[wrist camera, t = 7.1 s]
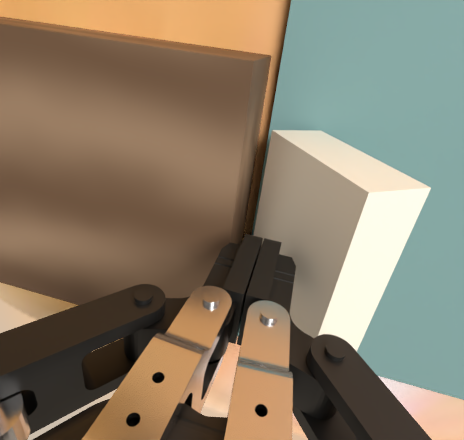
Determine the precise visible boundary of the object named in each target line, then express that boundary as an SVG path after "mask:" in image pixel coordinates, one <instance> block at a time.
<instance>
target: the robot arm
mask: <svg viewBox="0 0 464 440" xmlns="http://www.w3.org/2000/svg"><path fill="white" fill-rule="evenodd" d="M262 242H263V244H262ZM281 243H282V242H279V241H274V240H270V239H266V238H264V241H263V238H262V237H257V236H253V235H249V234H245V236H244V239H243V241H242V243H241V245H239V244H235V243H231V242H230V243H229V244H227V245H226V246H224V247H223V248H222V249H221V251H220V253H219V255H218V257H217V259H216V261H215V264H214V265H213V267H212V269H211V271H210V273H209V275H208V277H207V279H206V281H205V283H204V285H203V287H200V288H198V289H196V290H195V291H193V293H192V294H191V295H190V297H186V298H165V294H164V292H163V291H162V290H161V289H160V288H159V287H157V286H155V285H151V284H139V285H135V286H132V287H129V288H126V289H124V290H121V291H118V292H115V293H112V294H110V295H107V296H104V297H101V298H98V299H96V300H93V301H90V302H87V303H84V304H82V305H79V306H76V307H73V308H70V309H68V310H65V311H62V312H59V313H56V314H53V315H51V316H48V317H45V318H42V319H39V320H37V321H34V322H31V323H28V324H25V325H23V326H20V327H17V328H14V329H11V330H9V331H6V332H3V333H0V440H27V439H28V437H29V435H30V434H32V433H34V432H35V431H37V430H39V429H41V428H43V427H45V426H47V425H49V424H50V423H53V422H54V421H56V420H58V419H60V418H62V417H64V416H66V415H67V414H70V413H72V412H73V411H75V410H77V409H79V408H81V407H83V406H85V405H87V404H89V403H91V402H92V401H94V400H96V399H98V398H100V397H102V396H104V395H106V394H108V393H109V392H112V391H113V390H115V389H117V390H116V391H115V393H114V394H113V396H112V397H111V399H108V400H105V401H102V402H100V403H97V404H95V405H93V406H91V407H89V408H88V409H86V410H84V411H82V412H81V413H79V414H77V415H75V416H73V417H72V418H70V419H68V420H67V421H65V422H63V423H61V424H59V425H58V426H56V427H54V428H52V429H51V430H49V431H47V432H46V433H44V434H42V435H40V436H38V437H37V438H35V439H33V440H292V411H293V413H294V415H295V417H296V419H297V421H298V422H299V424H300V426H301V428H302V429H303V431H304V433H305V435H306V436H307V438H308V440H432V439H431V438H430V437H429V436H428V435H427V434H426V432H425V431H424V430H423V429H422V428H421V427H420V425H419V424H418V423H417V422H416V421H415V420H414V418H413V417H412V416H411V415H410V414H409V412H408V411H407V410H406V409H405V408H404V407H403V405H402V404H401V403H400V402H399V401H398V400H397V398H396V397H395V396H394V395H393V394H392V393H391V391H390V390H389V389H388V388H387V387H386V386H385V384H384V383H383V382H382V381H381V380H380V379H379V377H378V376H377V375H376V374H375V373H374V371H373V370H372V369H371V368H370V367H369V366H368V364H367V363H366V362H365V361H364V360H363V359H362V357H361V356H360V355H359V354H358V353H357V352H356V350H355V349H354V348H353V347H352V346H351V345H350V344H349V343H348V342H347V341H345V340H344V339H342V338H340V337H338V336H335V335H331V334H322V335H319V336H317V337H315V338H313V337H311V336H309V335H308V334H306V333H304V332H303V331H301V330H300V329H299V328H298V327H297V326H296V325H295V324H294V323H293V321H292V319H291V316H290V306H291V299H292V292H293V285H294V278H295V271H296V265H295V263H294V261H293V259H292V257H288V256H284V255H280V254H279V252H280V248H281ZM239 329H240V331H239ZM238 333H239V336H238ZM237 336H238V341H237V344H238V345H241V347H240V352H239V357H238V362H237V367H236V373H235V378H234V383H233V389H232V394H231V399H230V405H229V410H228V415H227V418H223V417H221V418H220V417H207V416H204V415H202V414H200V413H201V410H202V407H203V405H204V403H205V400H206V398H207V396H208V393H209V391H210V388H211V386H212V384H213V381H214V379H215V377H216V374H217V372H218V370H219V367H220V365H221V363H222V360H223V355H224V354H225V352H226V349H227V346H228V343H229V342H231V343H234V344H235V342H236V339H237ZM121 338H122V339H121ZM119 339H120V340H119ZM116 340H117V341H116ZM114 341H115V342H114ZM112 342H113V343H112ZM109 343H111V344H109ZM107 344H108V345H107ZM105 345H106V346H105ZM103 346H104V347H103ZM100 347H102V348H100ZM98 348H99V349H98ZM96 349H97V350H96ZM94 350H95V351H94ZM92 351H93V352H92Z"/></svg>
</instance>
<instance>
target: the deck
mask: <svg viewBox="0 0 464 440" xmlns="http://www.w3.org/2000/svg"><path fill="white" fill-rule="evenodd" d="M270 60H271V56H270V55H263V54H256V53H249V52H242V51H235V50H228V49H221V48H214V47H207V46H200V45H193V44H186V43H179V42H172V41H165V40H158V39H151V38H145V37H138V36H131V35H124V34H117V33H110V32H103V31H96V30H89V29H82V28H75V27H68V26H61V25H54V24H47V23H40V22H33V21H26V20H19V19H12V18H5V17H0V282H1V283H5V284H8V285H12V286H15V287H19V288H22V289H25V290H29V291H32V292H36V293H39V294H43V295H46V296H50V297H53V298H57V299H60V300H63V301H67V302H70V303H74V304H77V305H82V304H84V303H87V302H90V301H93V300H96V299H98V298H101V297H104V296H107V295H110V294H112V293H115V292H118V291H121V290H124V289H126V288H129V287H132V286H135V285H139V284H151V285H155V286H157V287H159V288H160V289H161V290H162V291H163V292H164V294H165V298H186V297H190V295H191V294H192V293H193V291H195V290H196V289H198V288H200V287H203V285H204V283H205V281H206V279H207V277H208V275H209V273H210V271H211V269H212V267H213V265H214V264H215V261H216V259H217V257H218V255H219V253H220V251H221V249H222V248H223V247H224V246H226V245H227V244H229V243H230V242H231V243H235V244H239V245H241V243H242V241H243V235H244V228H245V222H246V215H247V209H248V202H249V196H250V189H251V183H252V176H253V170H254V164H255V157H256V151H257V144H258V138H259V131H260V125H261V118H262V112H263V106H264V99H265V93H266V86H267V80H268V73H269V67H270Z"/></svg>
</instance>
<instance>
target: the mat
mask: <svg viewBox="0 0 464 440" xmlns="http://www.w3.org/2000/svg"><path fill="white" fill-rule="evenodd" d="M272 130H318V131H323V132H325V133H327V134H329V135H330V136H332V137H334V138H336V139H338V140H340V141H342V142H344V143H346V144H348V145H350V146H352V147H354V148H356V149H357V150H359V151H361V152H363V153H365V154H367V155H369V156H371V157H373V158H375V159H377V160H379V161H381V162H383V163H384V164H386V165H388V166H390V167H392V168H394V169H396V170H398V171H400V172H402V173H404V174H406V175H408V176H410V177H411V178H413V179H415V180H417V181H419V182H421V183H423V184H425V185H427V186H429V187H431V189H430V191H429V194H428V196H427V198H426V200H425V202H424V205H423V207H422V209H421V211H420V213H419V216H418V218H417V220H416V222H415V224H414V227H413V229H412V231H411V233H410V235H409V238H408V240H407V242H406V244H405V246H404V249H403V251H402V253H401V255H400V257H399V260H398V262H397V264H396V266H395V268H394V271H393V273H392V275H391V277H390V279H389V282H388V284H387V286H386V288H385V290H384V293H383V295H382V297H381V299H380V301H379V304H378V306H377V308H376V310H375V312H374V315H373V317H372V319H371V321H370V323H369V326H368V328H367V330H366V332H365V334H364V337H363V339H362V341H361V343H360V345H359V348H358V350H357V353H358V354H359V355H360V356H361V357H362V359H363V360H364V361H365V362H366V363H367V364H368V366H369V367H370V368H371V369H372V370H373V371H374V373H375V374H376V375H378V376H381V377H385V378H388V379H392V380H395V381H399V382H403V383H406V384H410V385H413V386H417V387H420V388H424V389H427V390H431V391H434V392H438V393H442V394H445V395H449V396H452V397H456V398H459V399H463V400H464V0H291V5H290V11H289V17H288V22H287V28H286V34H285V40H284V46H283V52H282V58H281V64H280V70H279V76H278V81H277V87H276V93H275V99H274V105H273V111H272V117H271V123H270V129H269V135H268V140H267V146H266V152H265V158H264V164H263V170H262V176H261V182H260V188H259V194H258V199H257V205H256V211H255V217H254V223H253V229H252V235H254V229H255V224H256V218H257V212H258V207H259V201H260V195H261V190H262V184H263V178H264V173H265V167H266V161H267V156H268V150H269V144H270V139H271V133H272ZM239 331H240V329H239ZM238 336H239V333H238Z"/></svg>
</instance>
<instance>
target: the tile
mask: <svg viewBox="0 0 464 440" xmlns="http://www.w3.org/2000/svg"><path fill="white" fill-rule="evenodd" d="M430 189H431V187H429V186H427V185H425V184H423V183H421V182H419V181H417V180H415V179H413V178H411V177H410V176H408V175H406V174H404V173H402V172H400V171H398V170H396V169H394V168H392V167H390V166H388V165H386V164H384V163H383V162H381V161H379V160H377V159H375V158H373V157H371V156H369V155H367V154H365V153H363V152H361V151H359V150H357V149H356V148H354V147H352V146H350V145H348V144H346V143H344V142H342V141H340V140H338V139H336V138H334V137H332V136H330V135H329V134H327V133H325V132H323V131H318V130H272V133H271V139H270V144H269V150H268V156H267V161H266V167H265V173H264V178H263V184H262V190H261V195H260V201H259V207H258V212H257V218H256V224H255V229H254V235H253V236H257V237H262V238H263V241H264V238H266V239H270V240H274V241H279V242H282V243H281V248H280V252H279V254H280V255H284V256H288V257H292V259H293V261H294V263H295V265H296V271H295V278H294V285H293V292H292V299H291V306H290V316H291V319H292V321H293V323H294V324H295V325H296V326H297V327H298V328H299V329H300V330H301V331H303V332H304V333H306V334H308V335H309V336H311V337H313V338H315V337H317V336H319V335H322V334H331V335H335V336H338V337H340V338H342V339H344V340H345V341H347V342H348V343H349V344H350V345H351V346H352V347H353V348H354V349H355V350H356V352H357V350H358V348H359V345H360V343H361V341H362V339H363V337H364V334H365V332H366V330H367V328H368V326H369V323H370V321H371V319H372V317H373V315H374V312H375V310H376V308H377V306H378V304H379V301H380V299H381V297H382V295H383V293H384V290H385V288H386V286H387V284H388V282H389V279H390V277H391V275H392V273H393V271H394V268H395V266H396V264H397V262H398V260H399V257H400V255H401V253H402V251H403V249H404V246H405V244H406V242H407V240H408V238H409V235H410V233H411V231H412V229H413V227H414V224H415V222H416V220H417V218H418V216H419V213H420V211H421V209H422V207H423V205H424V202H425V200H426V198H427V196H428V194H429V191H430ZM262 244H263V242H262Z"/></svg>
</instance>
